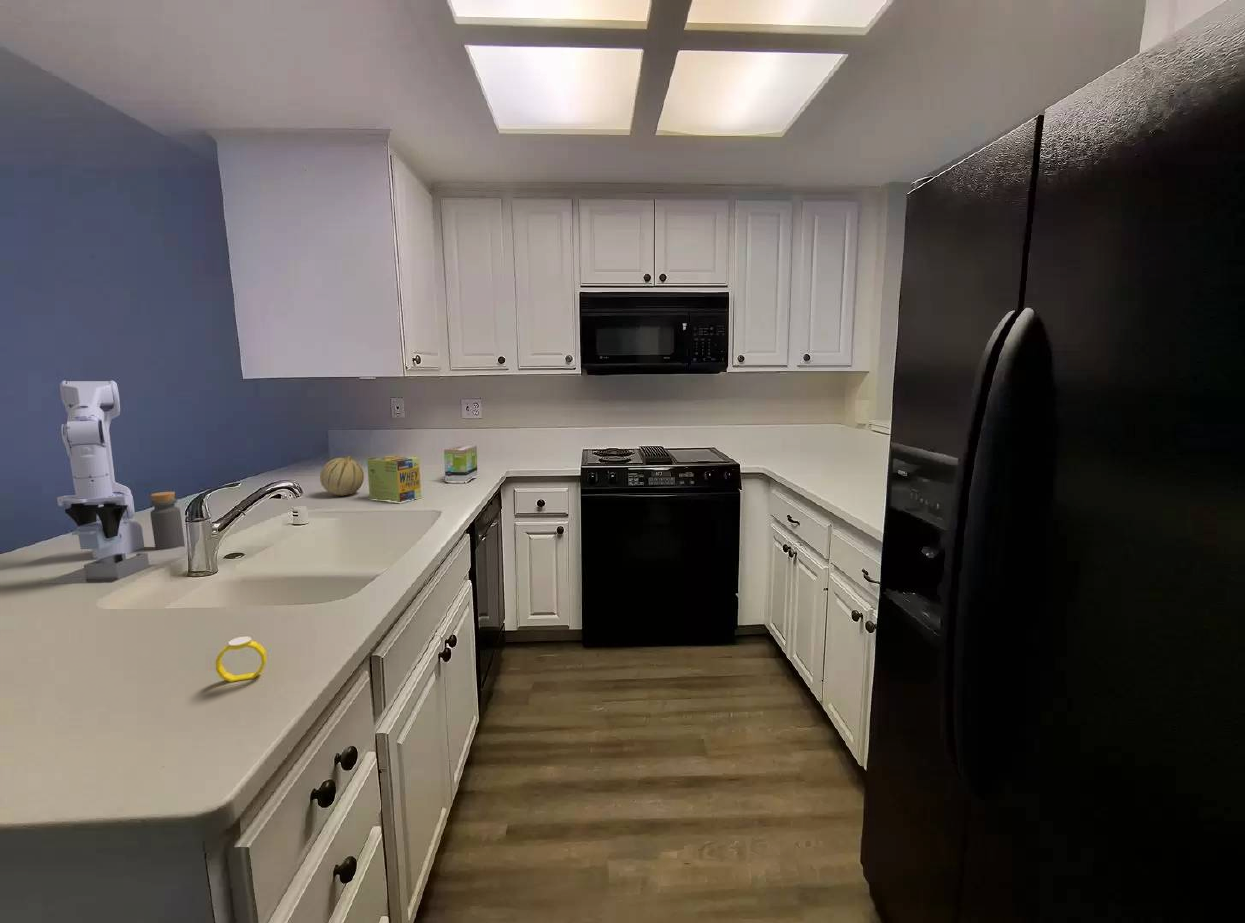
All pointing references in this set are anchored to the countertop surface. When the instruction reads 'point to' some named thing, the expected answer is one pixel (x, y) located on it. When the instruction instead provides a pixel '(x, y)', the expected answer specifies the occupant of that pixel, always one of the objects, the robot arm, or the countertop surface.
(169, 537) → the bottle
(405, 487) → the protein box
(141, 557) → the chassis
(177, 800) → the countertop surface
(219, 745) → the countertop surface
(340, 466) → the cantaloupe
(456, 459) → the tea box
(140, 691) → the countertop surface
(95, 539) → the block
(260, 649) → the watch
